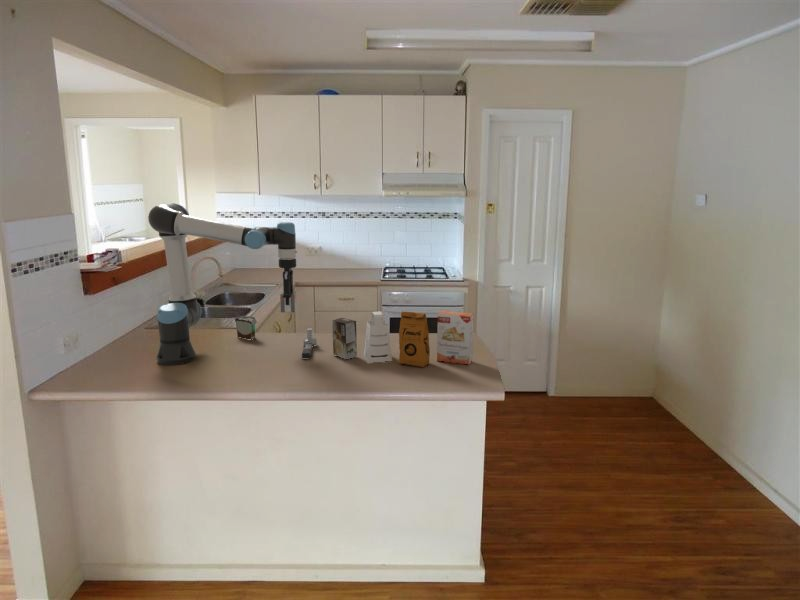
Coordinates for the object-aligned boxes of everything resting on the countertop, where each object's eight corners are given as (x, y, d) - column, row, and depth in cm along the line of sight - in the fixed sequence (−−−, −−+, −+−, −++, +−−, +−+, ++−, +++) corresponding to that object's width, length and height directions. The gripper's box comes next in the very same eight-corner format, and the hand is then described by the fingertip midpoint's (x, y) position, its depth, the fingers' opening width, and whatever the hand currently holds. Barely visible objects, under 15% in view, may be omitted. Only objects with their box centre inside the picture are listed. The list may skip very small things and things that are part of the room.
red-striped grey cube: (295, 312, 244) (294, 294, 242) (280, 312, 243) (280, 294, 242) (296, 309, 250) (296, 291, 248) (282, 309, 249) (282, 291, 248)
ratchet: (313, 358, 237) (312, 340, 235) (298, 359, 237) (298, 341, 235) (317, 343, 259) (316, 327, 257) (304, 344, 258) (303, 327, 257)
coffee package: (423, 369, 223) (423, 316, 219) (395, 365, 229) (395, 313, 224) (433, 362, 232) (433, 311, 227) (406, 358, 237) (406, 308, 233)
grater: (367, 363, 231) (366, 316, 227) (363, 355, 241) (363, 310, 237) (392, 361, 233) (392, 315, 229) (387, 354, 243) (387, 309, 239)
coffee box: (357, 357, 239) (357, 320, 236) (346, 360, 235) (345, 323, 231) (343, 352, 246) (342, 317, 242) (332, 356, 241) (331, 319, 238)
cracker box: (436, 361, 233) (437, 313, 229) (440, 357, 238) (441, 310, 234) (469, 365, 228) (470, 316, 224) (472, 361, 233) (474, 312, 229)
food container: (263, 338, 268) (262, 318, 266) (253, 341, 263) (252, 320, 261) (245, 334, 275) (244, 314, 273) (235, 337, 270) (234, 317, 268)
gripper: (293, 261, 233) (295, 315, 237) (298, 255, 251) (300, 305, 256) (275, 261, 232) (277, 315, 237) (281, 255, 251) (283, 305, 256)
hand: (289, 310), depth 247 cm, fingers closed on red-striped grey cube, 6 cm apart
